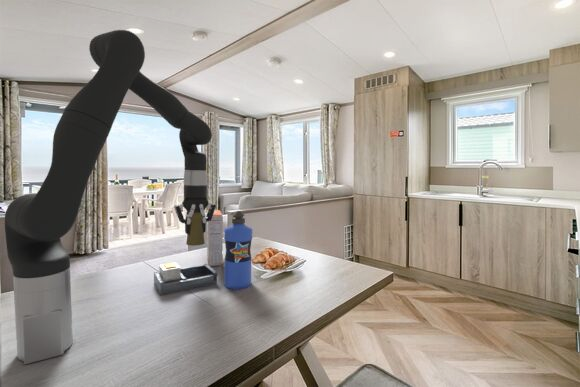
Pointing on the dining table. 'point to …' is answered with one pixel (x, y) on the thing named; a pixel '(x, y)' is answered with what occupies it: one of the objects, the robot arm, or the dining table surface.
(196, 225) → the cork
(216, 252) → the cracker box
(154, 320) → the dining table surface
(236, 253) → the water bottle
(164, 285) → the gray desk organizer
